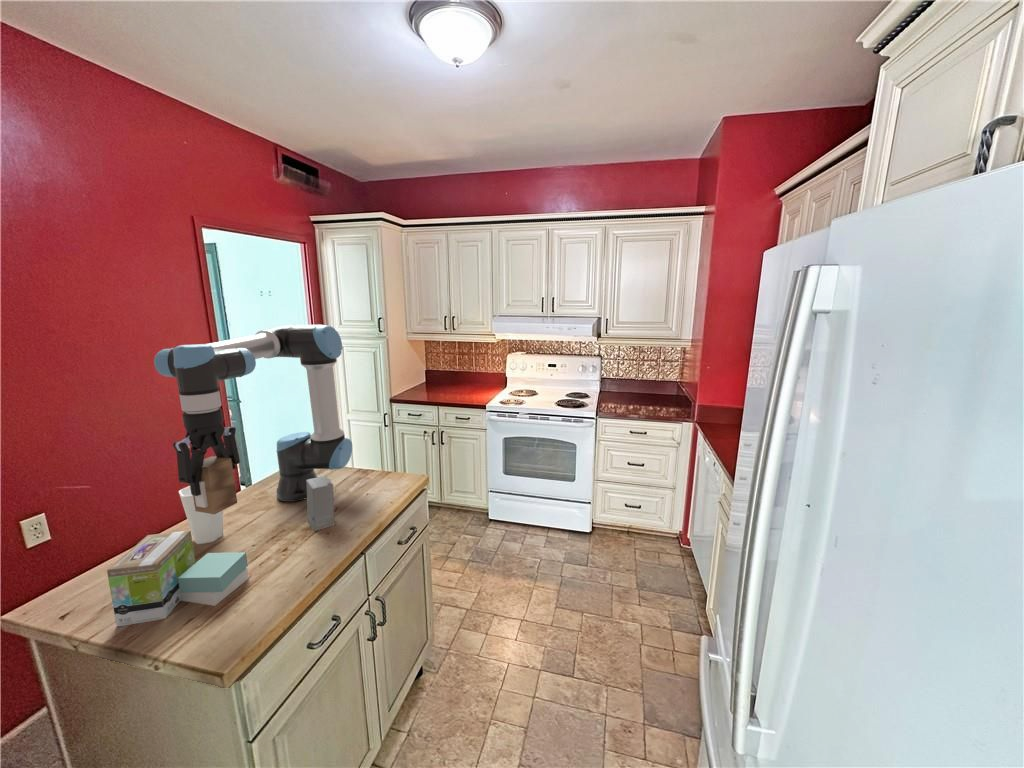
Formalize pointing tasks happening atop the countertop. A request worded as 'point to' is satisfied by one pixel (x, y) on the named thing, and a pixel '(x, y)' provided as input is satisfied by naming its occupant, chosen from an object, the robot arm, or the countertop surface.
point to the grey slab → (215, 597)
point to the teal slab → (213, 572)
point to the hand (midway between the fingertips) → (215, 499)
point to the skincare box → (320, 502)
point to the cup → (201, 520)
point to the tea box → (150, 577)
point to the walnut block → (218, 485)
